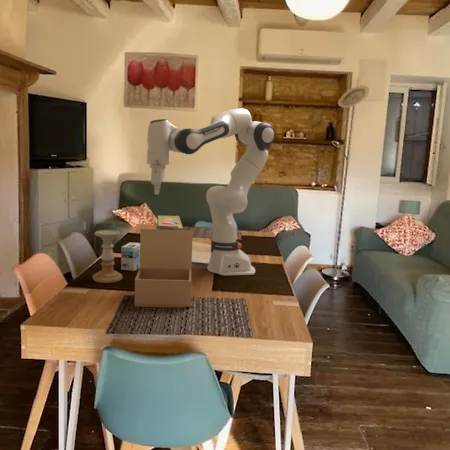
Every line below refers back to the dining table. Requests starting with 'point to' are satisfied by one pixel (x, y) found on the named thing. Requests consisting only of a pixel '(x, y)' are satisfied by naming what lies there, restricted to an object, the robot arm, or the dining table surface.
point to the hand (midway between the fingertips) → (157, 193)
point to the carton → (163, 287)
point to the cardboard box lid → (166, 248)
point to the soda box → (170, 221)
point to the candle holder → (107, 258)
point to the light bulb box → (130, 256)
